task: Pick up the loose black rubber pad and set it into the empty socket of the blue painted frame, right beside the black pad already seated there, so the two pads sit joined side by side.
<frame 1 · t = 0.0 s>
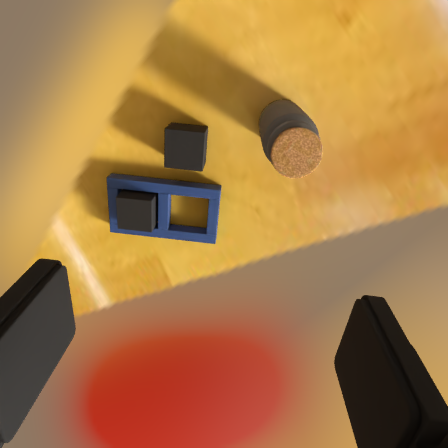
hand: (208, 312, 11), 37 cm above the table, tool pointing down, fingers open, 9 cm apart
pad a: (142, 203, 50), resting in frame
bottle: (280, 122, 43), on the table
pad b: (188, 142, 45), on the table
frame: (165, 206, 50), on the table
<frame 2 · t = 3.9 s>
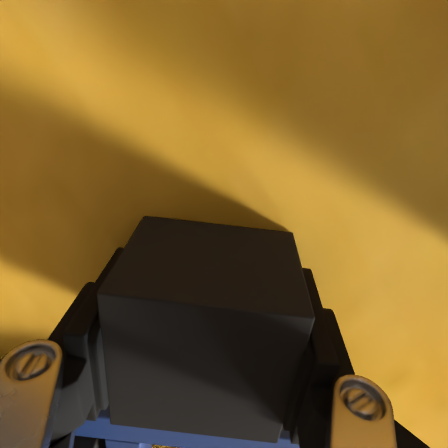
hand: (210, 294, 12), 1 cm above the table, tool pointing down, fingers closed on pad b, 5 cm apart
pad a: (66, 425, 17), resting in frame
pad b: (212, 283, 12), on the table, touching gripper
frame: (137, 433, 17), on the table
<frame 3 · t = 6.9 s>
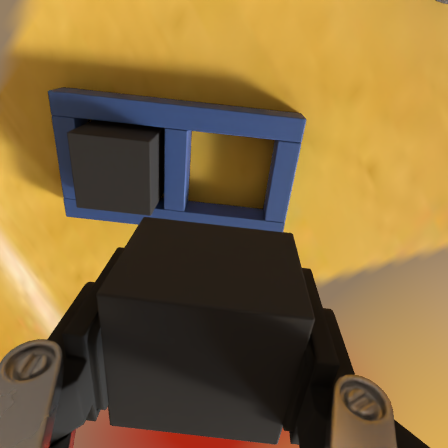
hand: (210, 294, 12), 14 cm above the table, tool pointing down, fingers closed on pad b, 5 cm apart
pad a: (130, 157, 24), resting in frame
pad b: (212, 284, 12), point 14 cm above the table, touching gripper
frame: (180, 163, 24), on the table
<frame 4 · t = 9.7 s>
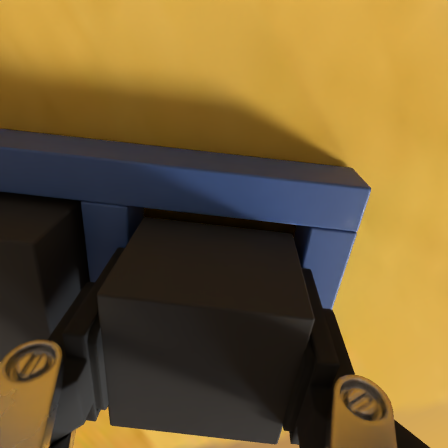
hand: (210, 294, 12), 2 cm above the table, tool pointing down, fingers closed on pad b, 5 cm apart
pad a: (38, 238, 14), resting in frame
pad b: (212, 284, 12), point 2 cm above the table, touching gripper
frame: (127, 248, 13), on the table
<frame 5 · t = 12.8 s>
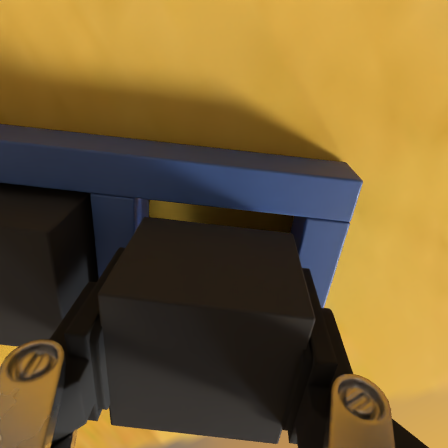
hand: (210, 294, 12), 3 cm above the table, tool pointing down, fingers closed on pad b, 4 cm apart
pad a: (48, 230, 14), resting in frame
pad b: (212, 284, 12), point 2 cm above the table, touching gripper
frame: (132, 240, 14), on the table
when the fingers open (3 cm above the table, at t = 15.3 s): pad b drops 2 cm, resting in frame.
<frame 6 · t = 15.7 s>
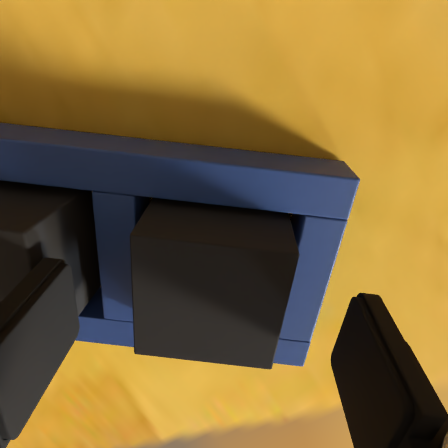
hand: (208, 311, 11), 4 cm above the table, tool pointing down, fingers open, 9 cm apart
pad a: (41, 230, 14), resting in frame, touching gripper
pad b: (217, 245, 14), resting in frame
frame: (133, 238, 14), on the table
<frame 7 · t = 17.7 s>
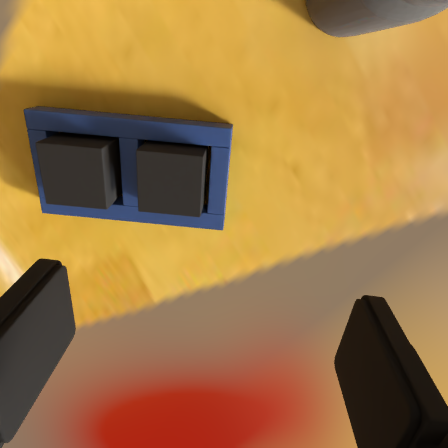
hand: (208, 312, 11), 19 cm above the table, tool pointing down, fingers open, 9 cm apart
pad a: (93, 162, 29), resting in frame
pad b: (178, 169, 29), resting in frame
frame: (136, 166, 29), on the table
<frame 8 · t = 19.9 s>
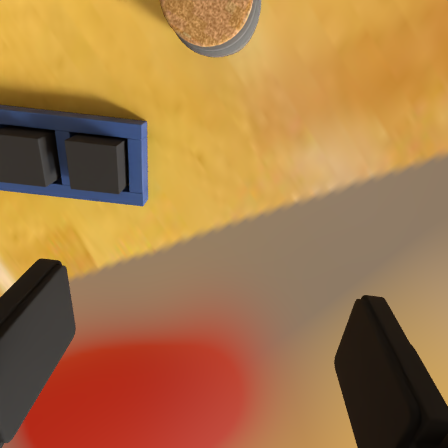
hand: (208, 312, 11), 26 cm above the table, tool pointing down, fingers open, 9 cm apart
pad a: (39, 150, 36), resting in frame
bottle: (223, 19, 30), on the table
pad b: (107, 156, 36), resting in frame
frame: (74, 154, 36), on the table
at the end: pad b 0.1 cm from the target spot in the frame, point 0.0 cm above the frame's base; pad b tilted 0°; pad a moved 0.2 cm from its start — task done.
